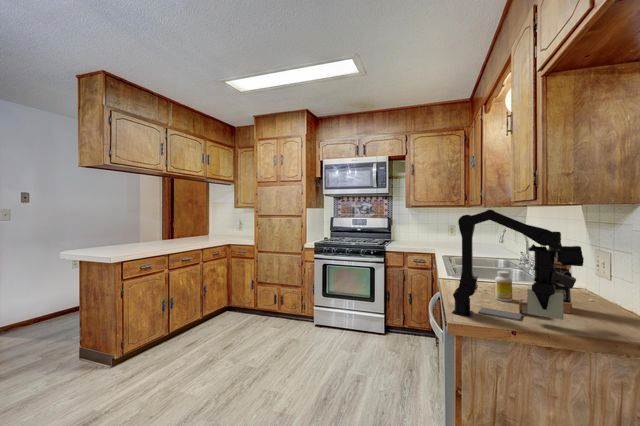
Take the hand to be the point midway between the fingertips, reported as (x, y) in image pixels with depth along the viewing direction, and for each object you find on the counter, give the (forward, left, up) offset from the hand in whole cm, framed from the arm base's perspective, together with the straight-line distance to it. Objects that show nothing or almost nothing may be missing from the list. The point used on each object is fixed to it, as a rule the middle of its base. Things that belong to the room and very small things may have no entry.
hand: (545, 307), depth 106 cm
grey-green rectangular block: (0, 0, -3) cm, 3 cm away
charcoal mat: (+3, +15, -6) cm, 16 cm away
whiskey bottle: (+25, -2, -6) cm, 26 cm away
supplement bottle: (+26, +17, -6) cm, 32 cm away
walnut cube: (+10, +6, -6) cm, 13 cm away
